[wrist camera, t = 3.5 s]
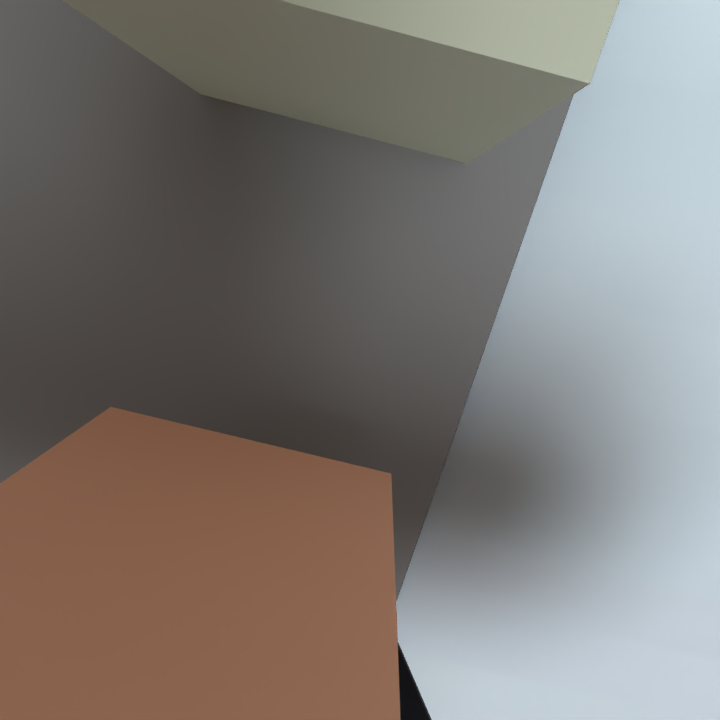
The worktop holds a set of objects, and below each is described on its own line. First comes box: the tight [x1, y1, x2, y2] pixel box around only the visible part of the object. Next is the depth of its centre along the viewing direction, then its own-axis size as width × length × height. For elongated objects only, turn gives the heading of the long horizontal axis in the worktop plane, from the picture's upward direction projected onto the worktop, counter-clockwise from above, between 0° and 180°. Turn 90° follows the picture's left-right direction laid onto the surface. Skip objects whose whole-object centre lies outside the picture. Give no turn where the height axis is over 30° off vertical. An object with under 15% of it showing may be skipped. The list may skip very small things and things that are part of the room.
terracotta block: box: [0, 407, 400, 720], centre depth 6 cm, size 5×5×5 cm
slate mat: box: [0, 0, 574, 601], centre depth 10 cm, size 27×21×1 cm
